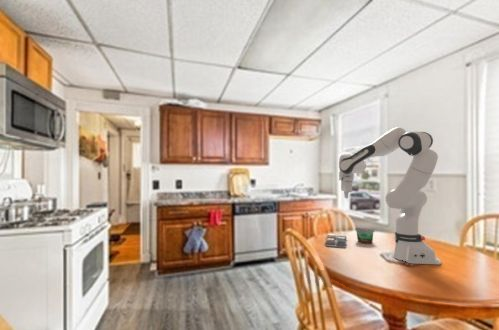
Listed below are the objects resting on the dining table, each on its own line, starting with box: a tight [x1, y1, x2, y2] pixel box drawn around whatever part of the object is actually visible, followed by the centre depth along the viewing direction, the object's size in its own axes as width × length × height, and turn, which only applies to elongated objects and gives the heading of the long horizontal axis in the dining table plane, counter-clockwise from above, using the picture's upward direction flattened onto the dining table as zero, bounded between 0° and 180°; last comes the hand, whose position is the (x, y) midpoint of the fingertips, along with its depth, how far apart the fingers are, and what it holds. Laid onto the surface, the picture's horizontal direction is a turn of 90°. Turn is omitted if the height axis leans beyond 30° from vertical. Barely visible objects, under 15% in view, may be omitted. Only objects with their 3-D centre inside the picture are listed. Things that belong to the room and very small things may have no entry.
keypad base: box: [325, 234, 348, 249], centre depth 187 cm, size 13×28×2 cm, turn 160°
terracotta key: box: [326, 237, 334, 242], centre depth 182 cm, size 4×4×3 cm
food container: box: [355, 227, 375, 245], centre depth 185 cm, size 12×6×10 cm, turn 73°
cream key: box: [327, 233, 336, 237], centre depth 195 cm, size 4×4×3 cm
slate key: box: [338, 237, 345, 243], centre depth 179 cm, size 4×4×3 cm
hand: (346, 198), depth 184 cm, fingers closed
